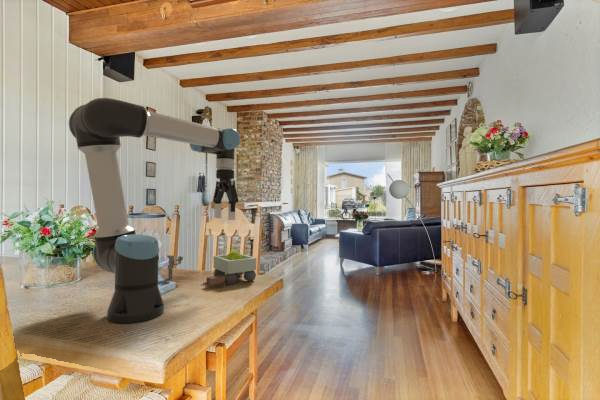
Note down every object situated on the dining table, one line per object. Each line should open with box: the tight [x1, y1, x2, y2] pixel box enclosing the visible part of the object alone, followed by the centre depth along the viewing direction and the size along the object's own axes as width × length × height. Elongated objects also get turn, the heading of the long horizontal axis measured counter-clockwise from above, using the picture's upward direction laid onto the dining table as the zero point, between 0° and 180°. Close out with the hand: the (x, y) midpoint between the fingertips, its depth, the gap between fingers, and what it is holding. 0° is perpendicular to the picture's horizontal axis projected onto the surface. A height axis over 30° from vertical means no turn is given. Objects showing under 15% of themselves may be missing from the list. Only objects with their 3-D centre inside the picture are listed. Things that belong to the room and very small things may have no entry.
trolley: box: [213, 253, 257, 285], centre depth 140 cm, size 15×14×10 cm
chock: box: [206, 275, 226, 290], centre depth 129 cm, size 4×6×4 cm, turn 131°
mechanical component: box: [166, 254, 184, 280], centre depth 141 cm, size 3×10×10 cm, turn 89°
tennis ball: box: [226, 250, 242, 260], centre depth 140 cm, size 7×7×7 cm
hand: (224, 219), depth 137 cm, fingers open, 13 cm apart
